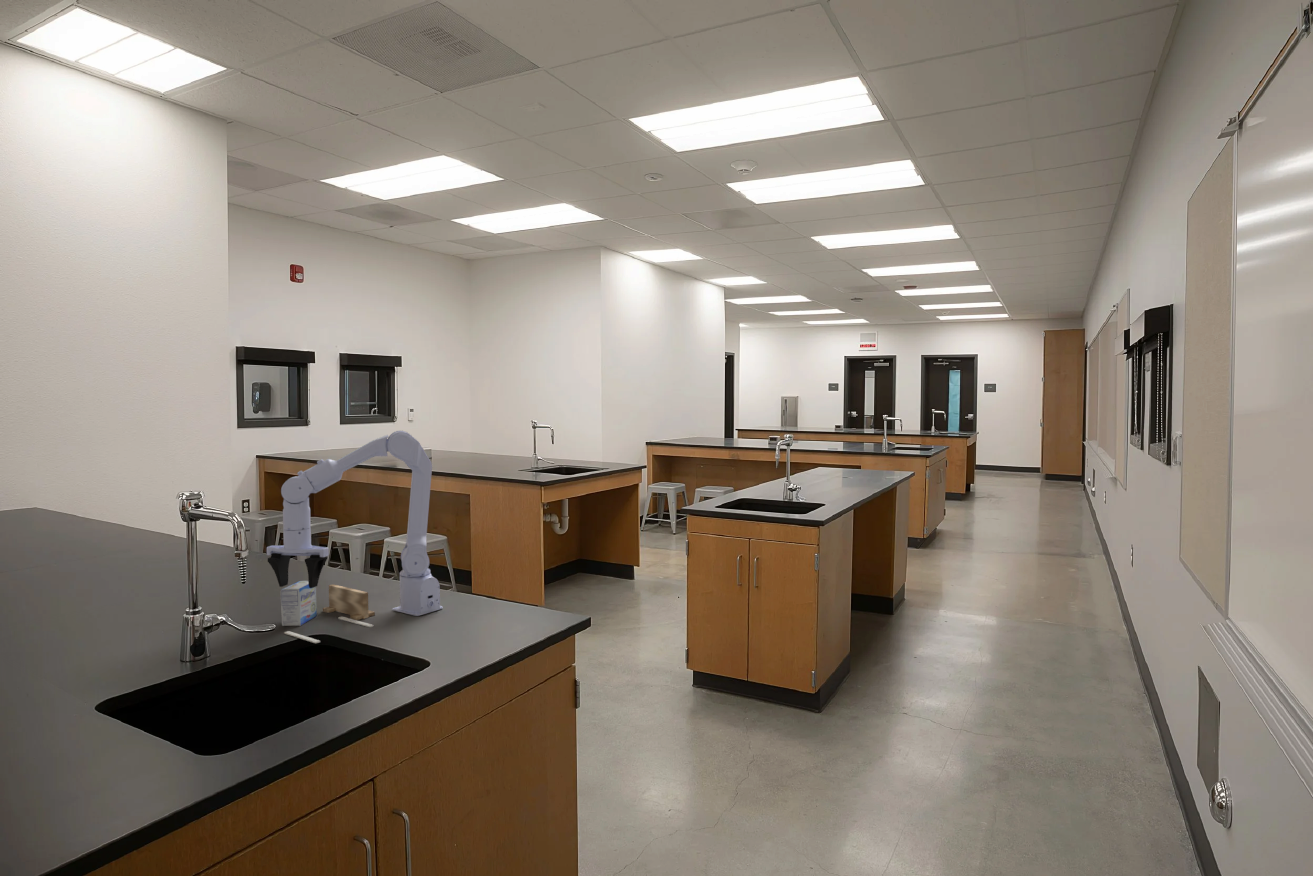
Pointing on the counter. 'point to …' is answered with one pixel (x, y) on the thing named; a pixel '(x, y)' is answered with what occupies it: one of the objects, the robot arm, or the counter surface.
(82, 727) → the counter surface
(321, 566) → the robot arm
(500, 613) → the counter surface
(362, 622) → the tape marks
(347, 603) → the wooden board with feet
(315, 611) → the medicine box
